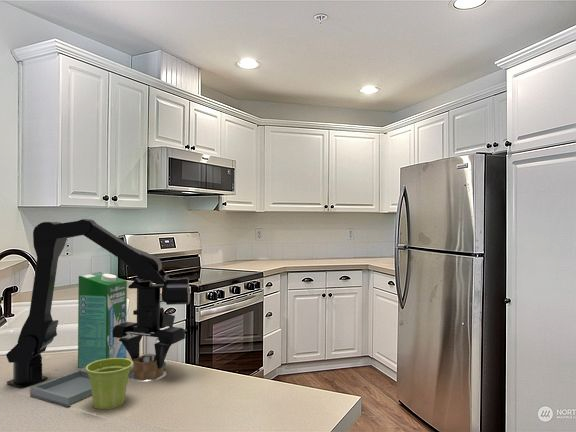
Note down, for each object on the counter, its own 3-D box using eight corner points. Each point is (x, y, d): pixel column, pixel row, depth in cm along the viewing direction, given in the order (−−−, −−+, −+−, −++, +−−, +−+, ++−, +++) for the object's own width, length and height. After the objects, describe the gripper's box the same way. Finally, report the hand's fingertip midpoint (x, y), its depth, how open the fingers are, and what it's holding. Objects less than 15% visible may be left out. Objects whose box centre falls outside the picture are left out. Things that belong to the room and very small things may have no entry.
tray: (30, 396, 95) (30, 387, 95) (80, 377, 106) (80, 369, 106) (68, 407, 89) (68, 398, 89) (117, 386, 101) (117, 377, 101)
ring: (127, 377, 105) (127, 361, 105) (152, 365, 114) (152, 351, 114) (150, 381, 102) (150, 365, 102) (173, 369, 111) (173, 354, 111)
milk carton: (107, 369, 112) (107, 276, 112) (77, 367, 114) (78, 275, 114) (126, 358, 121) (127, 272, 121) (98, 356, 122) (99, 271, 123)
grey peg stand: (121, 379, 105) (121, 357, 105) (148, 368, 113) (148, 348, 113) (148, 385, 101) (148, 363, 101) (173, 373, 109) (174, 352, 109)
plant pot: (118, 392, 97) (118, 354, 97) (141, 403, 91) (141, 363, 91) (77, 405, 90) (77, 365, 90) (98, 419, 84) (99, 375, 84)
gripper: (197, 302, 111) (197, 360, 111) (140, 297, 118) (140, 352, 118) (171, 310, 101) (171, 375, 101) (111, 304, 108) (110, 365, 107)
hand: (148, 366), depth 107 cm, fingers closed on ring, 7 cm apart
